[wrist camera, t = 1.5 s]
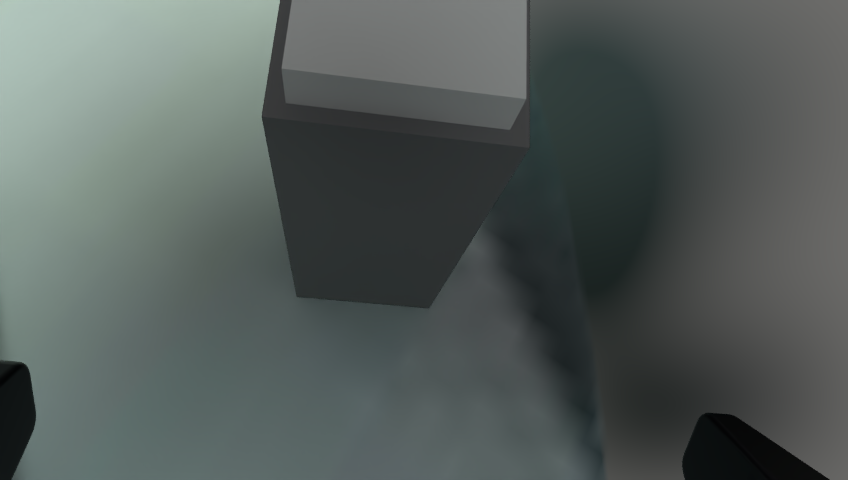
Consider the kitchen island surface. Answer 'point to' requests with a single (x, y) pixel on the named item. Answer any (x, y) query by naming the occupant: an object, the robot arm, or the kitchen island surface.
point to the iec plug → (392, 137)
